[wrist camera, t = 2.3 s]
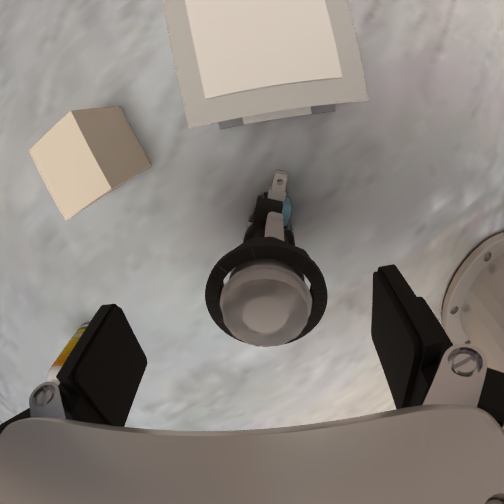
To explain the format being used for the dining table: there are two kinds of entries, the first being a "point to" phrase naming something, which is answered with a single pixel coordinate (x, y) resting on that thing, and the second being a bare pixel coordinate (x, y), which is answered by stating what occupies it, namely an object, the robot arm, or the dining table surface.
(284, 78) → the board
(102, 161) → the block
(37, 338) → the dining table surface
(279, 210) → the push button
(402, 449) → the robot arm
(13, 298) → the dining table surface
